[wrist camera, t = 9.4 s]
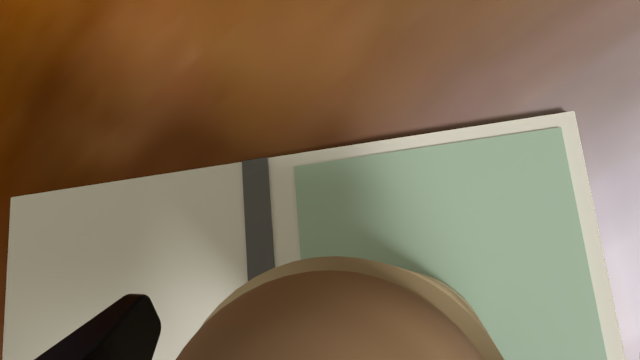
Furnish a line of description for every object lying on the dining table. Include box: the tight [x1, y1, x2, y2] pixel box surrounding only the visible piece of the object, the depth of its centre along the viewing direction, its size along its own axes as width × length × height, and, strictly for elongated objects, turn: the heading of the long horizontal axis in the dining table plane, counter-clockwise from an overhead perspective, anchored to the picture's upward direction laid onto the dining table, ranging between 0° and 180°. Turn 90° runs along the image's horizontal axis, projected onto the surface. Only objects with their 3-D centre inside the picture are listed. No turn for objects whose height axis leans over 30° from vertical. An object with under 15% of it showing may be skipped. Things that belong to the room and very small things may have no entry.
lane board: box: [2, 111, 626, 360], centre depth 17 cm, size 22×14×1 cm, turn 95°
